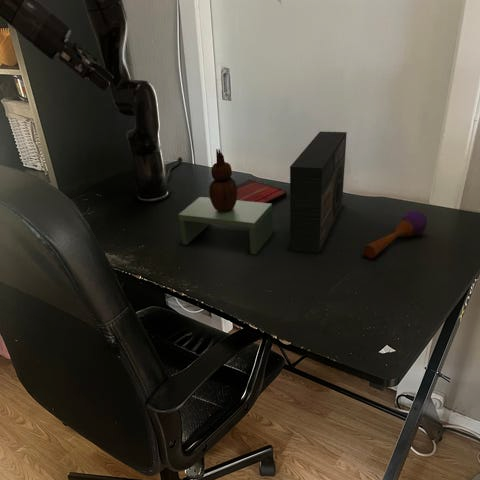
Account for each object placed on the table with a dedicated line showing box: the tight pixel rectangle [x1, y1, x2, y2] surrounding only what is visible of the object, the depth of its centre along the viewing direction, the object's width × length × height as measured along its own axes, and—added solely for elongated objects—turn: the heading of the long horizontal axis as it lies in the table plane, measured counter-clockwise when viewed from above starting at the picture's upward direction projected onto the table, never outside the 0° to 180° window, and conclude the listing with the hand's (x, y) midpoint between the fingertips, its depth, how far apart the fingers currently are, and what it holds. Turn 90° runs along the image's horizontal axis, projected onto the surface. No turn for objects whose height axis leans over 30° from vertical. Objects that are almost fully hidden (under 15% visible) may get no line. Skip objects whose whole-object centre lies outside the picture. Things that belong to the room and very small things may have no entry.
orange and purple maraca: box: [363, 209, 428, 260], centre depth 113 cm, size 6×6×20 cm
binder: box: [208, 179, 287, 205], centre depth 143 cm, size 16×2×21 cm
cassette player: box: [289, 131, 347, 254], centre depth 120 cm, size 29×7×20 cm, turn 160°
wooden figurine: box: [208, 148, 237, 212], centre depth 114 cm, size 7×6×15 cm
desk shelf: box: [177, 196, 274, 255], centre depth 121 cm, size 12×20×8 cm, turn 67°
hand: (109, 84), depth 107 cm, fingers open, 8 cm apart
